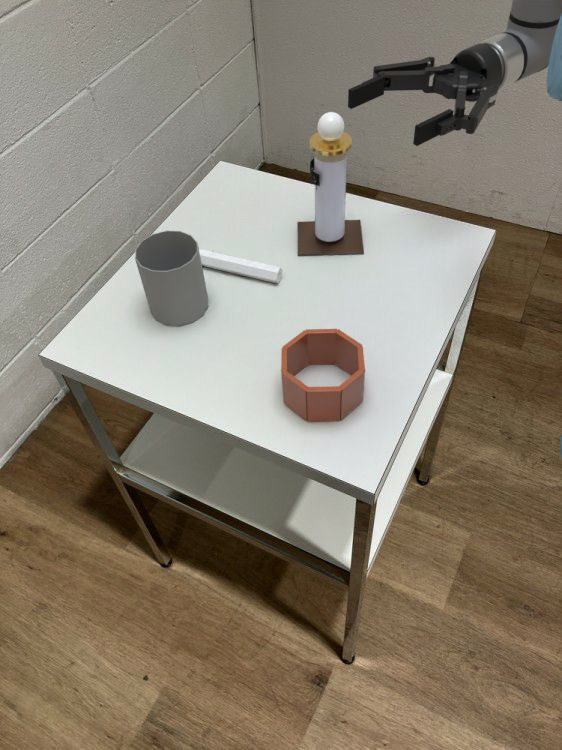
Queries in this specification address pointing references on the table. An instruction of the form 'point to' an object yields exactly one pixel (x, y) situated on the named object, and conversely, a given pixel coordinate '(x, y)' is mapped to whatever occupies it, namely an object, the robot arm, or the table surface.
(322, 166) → the perfume bottle
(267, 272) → the marker
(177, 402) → the table surface
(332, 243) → the coaster
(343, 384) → the holder
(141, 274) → the cup
